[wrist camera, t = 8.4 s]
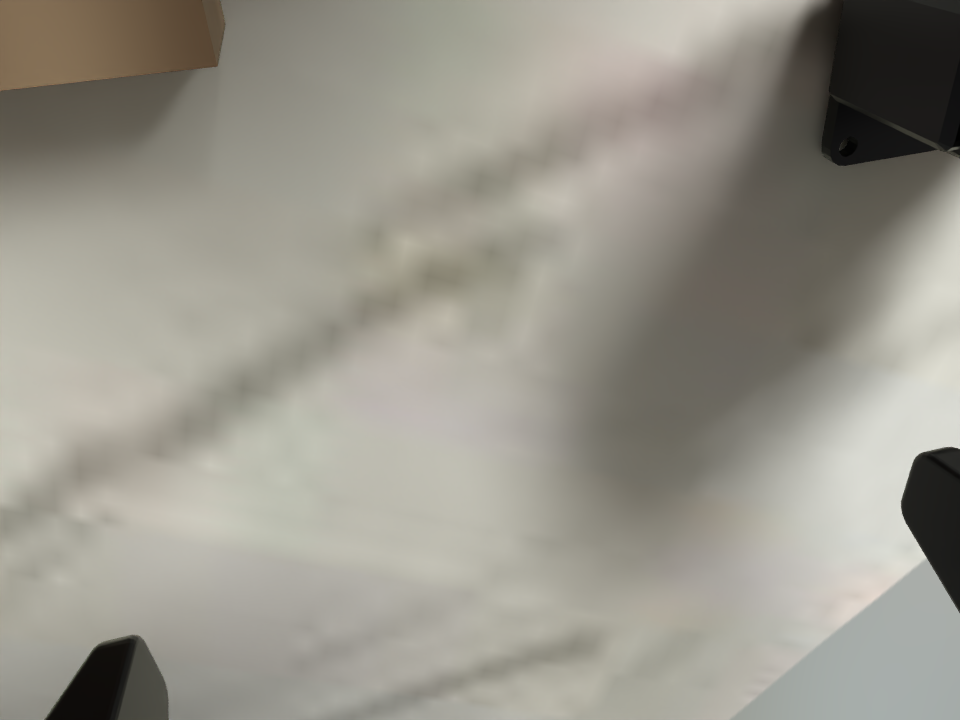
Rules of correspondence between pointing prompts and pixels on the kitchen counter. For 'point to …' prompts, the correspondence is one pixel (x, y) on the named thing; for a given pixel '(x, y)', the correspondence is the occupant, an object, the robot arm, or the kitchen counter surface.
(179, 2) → the walnut block
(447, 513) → the kitchen counter surface
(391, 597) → the kitchen counter surface
